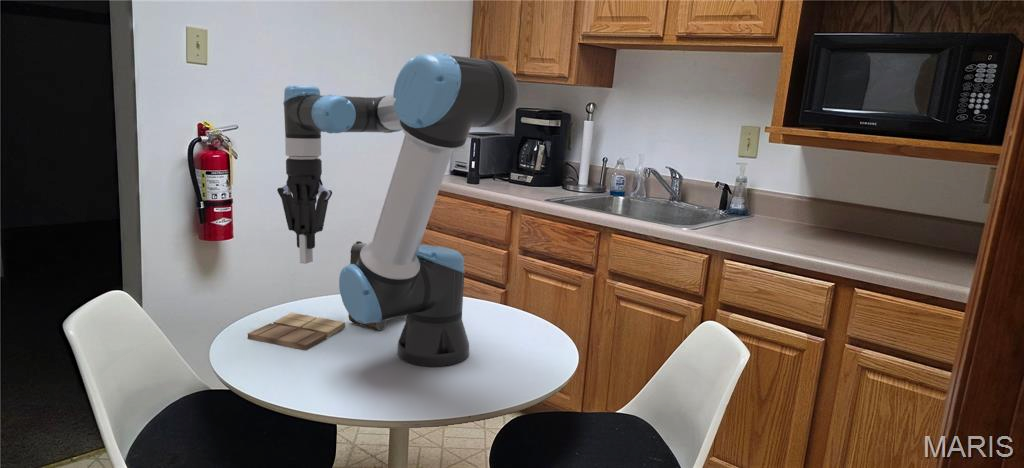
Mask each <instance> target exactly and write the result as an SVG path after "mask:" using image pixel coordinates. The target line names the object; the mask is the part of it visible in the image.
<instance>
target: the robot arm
mask: <svg viewBox="0 0 1024 468" xmlns="http://www.w3.org/2000/svg"><path fill="white" fill-rule="evenodd" d="M283 92H284V95H283V96H284V97H283V112H284V113H283V114H284V135H285V137H284V138H285V139H284V140H285V141H284V143H285V151H284V152H285V156H287V157H288V158H286V159H285V171H286V172H285V173H286V175H287V179H286V184H285V185H283V186H282V187H278V188H277V190H276V191H277V193H278V195H279V197H280V199H281V203H282V207H283V212H284V215H285V219H286V224H287V225H286V226H287V227H288V230H289V231H291V232H294V233H295V234H296V246H297V249H298V248H299V264H304V265H305V264H309V263H312V262H313V259H314V258H313V257H314V255H313V249H314V248H315V247H316V234H317V233H320V232H322V231H323V230H324V226H325V219H326V216H327V209H328V205H329V200H330V199H331V197H332V195H333V191H332V190H330V189H329V190H328V189H327V188H326V187H324V186H323V182H322V178H321V177H322V174H323V167H322V165H323V164H322V160H321V158H319V157H321V156H322V133H327V134H341V133H383V134H388V133H389V134H391V133H397V132H400V131H403V134H404V138H403V140H402V145H401V147H400V151H399V153H398V156H397V160H396V163H395V166H394V169H393V171H392V172H393V173H392V177H391V180H390V183H389V186H388V189H387V192H386V196H385V198H384V202H383V206H382V208H381V212H380V215H379V217H378V218H379V219H378V221H377V225H376V227H375V231H374V234H373V238H372V241H371V242H368V243H366V245H365V246H363V248H362V249H361V252H360V255H359V258H358V261H357V263H356V264H350V263H349V264H348V265H345V266H344V267H343V268H342V269H341V270H340V272H339V273H340V274H339V277H338V288H339V294H340V297H341V301H342V303H343V306H344V308H345V310H346V311H347V313H348V315H349V314H350V316H351V317H352V318H353V319H354V320H356V321H357V322H359V323H363V324H367V323H374V322H377V323H378V322H380V321H384V320H387V321H388V320H392V319H395V318H400V317H404V316H406V320H405V323H404V326H403V328H402V330H401V334H400V336H399V339H398V342H397V356H398V357H399V358H400V359H401V360H403V361H404V362H407V363H409V364H413V365H417V366H423V367H446V366H451V365H455V364H458V363H462V362H463V361H464V360H467V358H468V357H469V354H470V343H469V342H470V341H469V339H468V335H467V333H466V332H467V331H466V328H465V325H464V322H463V304H464V303H463V302H464V300H463V299H464V283H465V274H466V271H465V257H464V256H463V254H462V253H461V252H460V251H458V250H455V249H452V248H449V247H445V246H444V247H443V246H436V245H428V244H421V242H422V241H423V238H424V235H425V231H426V228H427V225H428V223H429V220H430V217H431V215H432V211H433V208H434V206H435V203H436V200H437V197H438V194H439V192H440V188H441V185H442V183H443V179H444V177H445V174H446V171H447V168H448V166H449V163H450V160H451V157H452V154H453V151H456V150H460V149H461V148H463V147H464V146H465V144H466V141H467V138H468V136H469V133H470V131H471V128H489V127H494V126H498V125H500V124H503V123H505V122H506V121H508V120H509V119H510V117H511V116H512V115H513V114H514V112H515V111H516V109H517V107H518V104H519V99H520V89H519V85H518V81H517V79H516V77H515V75H514V74H513V73H512V71H511V70H510V69H509V68H508V67H507V66H505V65H504V64H502V63H501V62H498V61H496V60H493V59H488V58H477V57H466V56H458V55H450V54H447V53H444V52H443V53H442V52H441V53H440V52H439V53H422V54H421V53H420V54H418V55H416V56H415V57H414V56H413V57H412V58H411V59H409V60H408V61H407V62H405V64H404V65H403V66H402V68H401V69H400V71H399V73H398V75H397V77H396V80H395V83H394V87H393V93H391V94H388V95H387V94H386V95H383V96H377V97H364V96H363V97H362V96H347V95H346V96H345V95H337V94H334V95H333V94H327V95H325V94H324V95H321V91H320V88H319V87H317V86H314V85H310V86H309V85H287V86H286V87H285V88H284V91H283ZM317 197H318V198H317Z"/></svg>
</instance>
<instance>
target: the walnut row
mask: <svg viewBox="0 0 1024 468" xmlns="http://www.w3.org/2000/svg"><path fill="white" fill-rule="evenodd" d="M247 339H248V340H251V341H252V340H253V341H258V342H263V343H267V344H272V345H277V346H283V347H287V348H293V349H297V350H303V351H308V350H309V349H311V348H313V347H315V346H317V345H318V344H321V343H323V342H324V341H326V340H327V339H328V337H327V334H324V333H319V332H314V331H309V330H304V329H299V328H293V327H288V326H283V325H280V324H279V325H277V324H273V322H271V323H268V324H265V325H263V326H261V327H259V328H257V329H254V330H252V331H250V332H248V333H247Z"/></svg>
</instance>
